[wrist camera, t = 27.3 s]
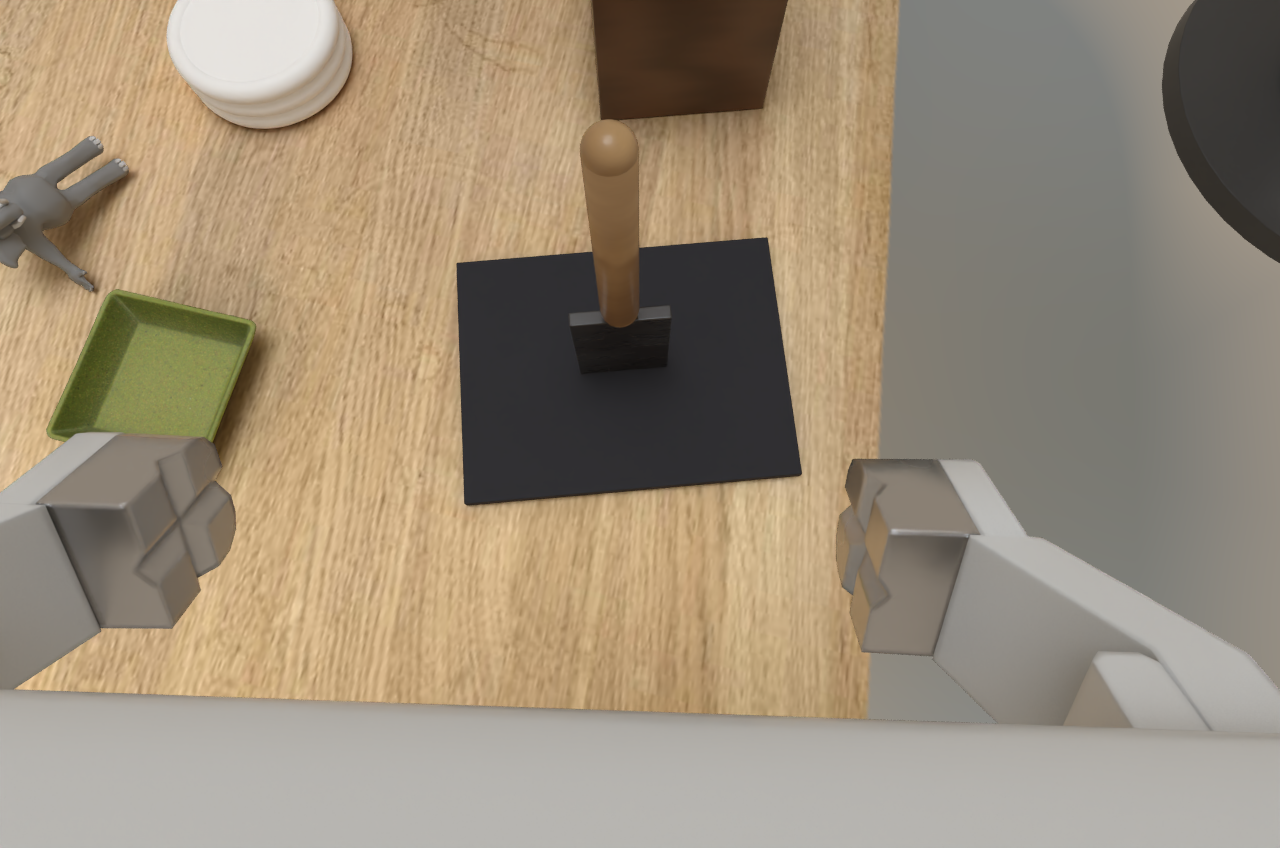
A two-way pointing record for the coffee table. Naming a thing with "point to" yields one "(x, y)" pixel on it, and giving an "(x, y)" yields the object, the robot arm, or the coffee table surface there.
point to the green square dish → (153, 370)
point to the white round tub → (261, 57)
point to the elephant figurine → (51, 206)
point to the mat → (622, 378)
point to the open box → (683, 55)
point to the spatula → (616, 260)
